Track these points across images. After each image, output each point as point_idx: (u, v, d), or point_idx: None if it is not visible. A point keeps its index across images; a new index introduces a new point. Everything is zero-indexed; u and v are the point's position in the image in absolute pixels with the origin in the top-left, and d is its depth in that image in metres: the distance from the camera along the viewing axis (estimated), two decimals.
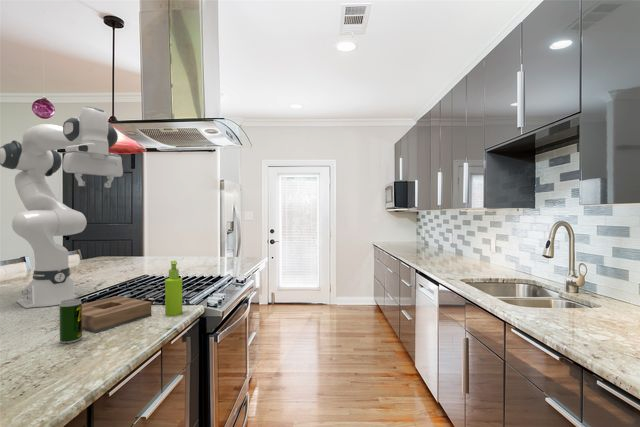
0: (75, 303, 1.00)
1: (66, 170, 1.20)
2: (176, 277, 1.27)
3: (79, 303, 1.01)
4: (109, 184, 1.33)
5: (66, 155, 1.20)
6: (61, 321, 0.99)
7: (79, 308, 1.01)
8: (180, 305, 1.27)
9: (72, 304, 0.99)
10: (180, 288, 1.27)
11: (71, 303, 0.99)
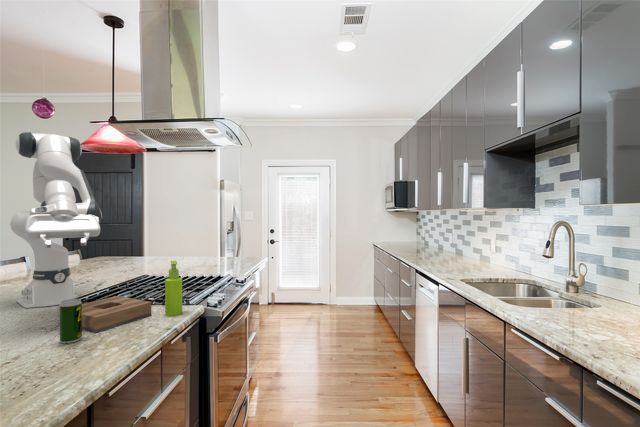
0: (75, 303, 1.00)
1: (26, 234, 1.06)
2: (176, 277, 1.27)
3: (79, 303, 1.01)
4: (84, 240, 1.14)
5: None
6: (61, 321, 0.99)
7: (79, 308, 1.01)
8: (180, 305, 1.27)
9: (72, 304, 0.99)
10: (180, 288, 1.27)
11: (71, 303, 0.99)
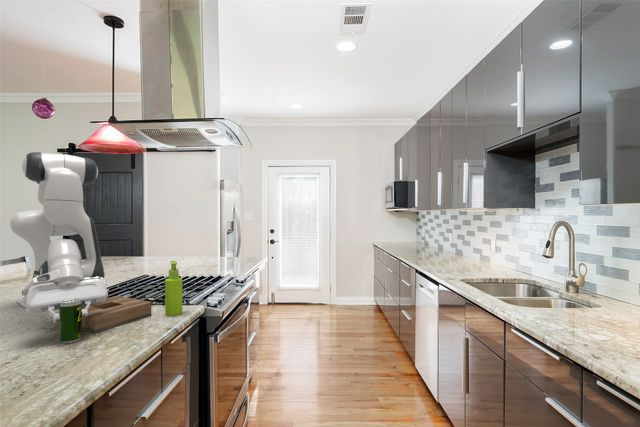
0: (75, 303, 1.00)
1: (27, 309, 0.97)
2: (176, 277, 1.27)
3: (79, 303, 1.01)
4: (85, 310, 1.03)
5: None
6: (61, 321, 0.99)
7: (79, 308, 1.01)
8: (180, 305, 1.27)
9: (72, 304, 0.99)
10: (180, 288, 1.27)
11: (71, 303, 0.99)
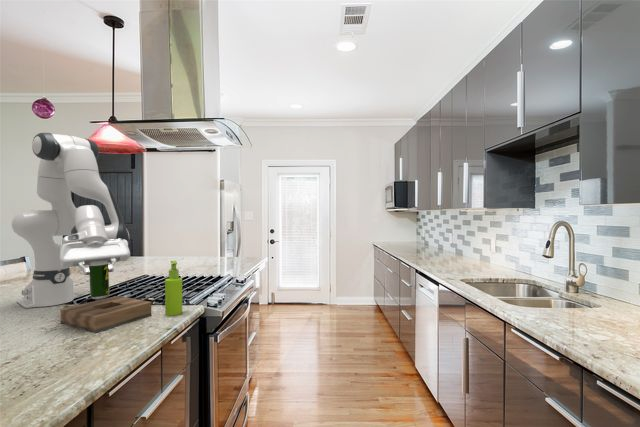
0: (102, 263, 1.12)
1: (60, 263, 1.09)
2: (176, 277, 1.27)
3: (106, 263, 1.13)
4: (111, 266, 1.15)
5: None
6: (91, 279, 1.10)
7: (106, 268, 1.13)
8: (180, 305, 1.27)
9: (100, 263, 1.11)
10: (180, 288, 1.27)
11: (99, 263, 1.11)
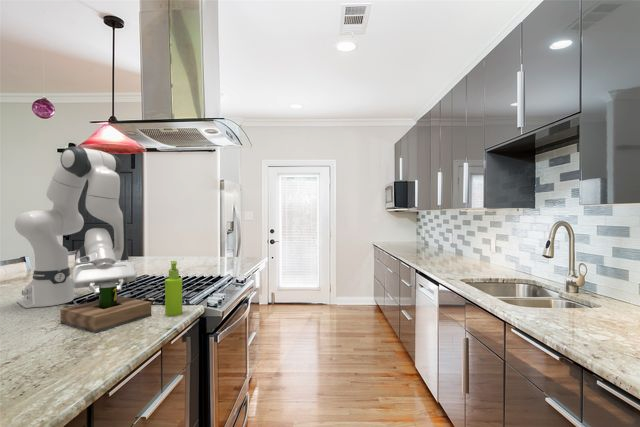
0: (112, 285, 1.20)
1: (72, 284, 1.16)
2: (176, 277, 1.27)
3: (115, 285, 1.21)
4: (119, 286, 1.23)
5: None
6: (101, 300, 1.18)
7: (115, 289, 1.21)
8: (180, 305, 1.27)
9: (109, 286, 1.19)
10: (180, 288, 1.27)
11: (109, 285, 1.19)
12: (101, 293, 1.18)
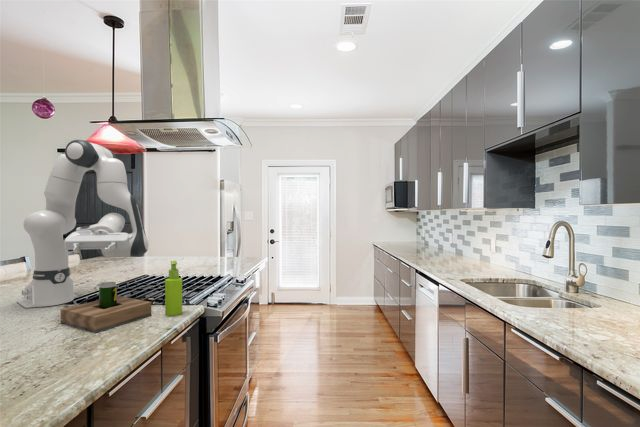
0: (112, 285, 1.20)
1: (64, 244, 1.20)
2: (176, 277, 1.27)
3: (115, 285, 1.21)
4: (107, 246, 1.21)
5: None
6: (101, 300, 1.18)
7: (115, 289, 1.21)
8: (180, 305, 1.27)
9: (109, 286, 1.19)
10: (180, 288, 1.27)
11: (109, 285, 1.19)
12: (101, 293, 1.18)
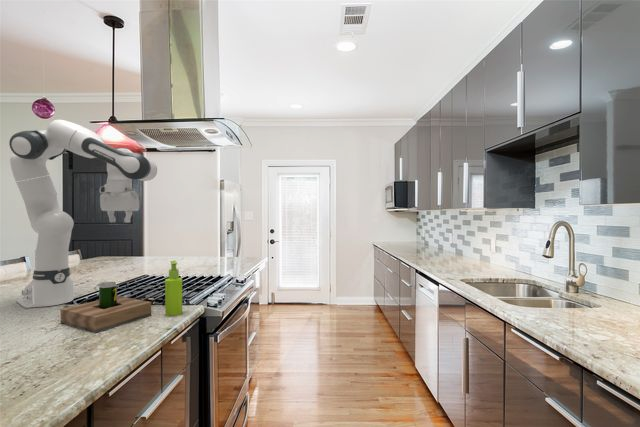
0: (112, 285, 1.20)
1: None
2: (176, 277, 1.27)
3: (115, 285, 1.21)
4: (125, 219, 1.35)
5: None
6: (101, 300, 1.18)
7: (115, 289, 1.21)
8: (180, 305, 1.27)
9: (109, 286, 1.19)
10: (180, 288, 1.27)
11: (109, 285, 1.19)
12: (101, 293, 1.18)
